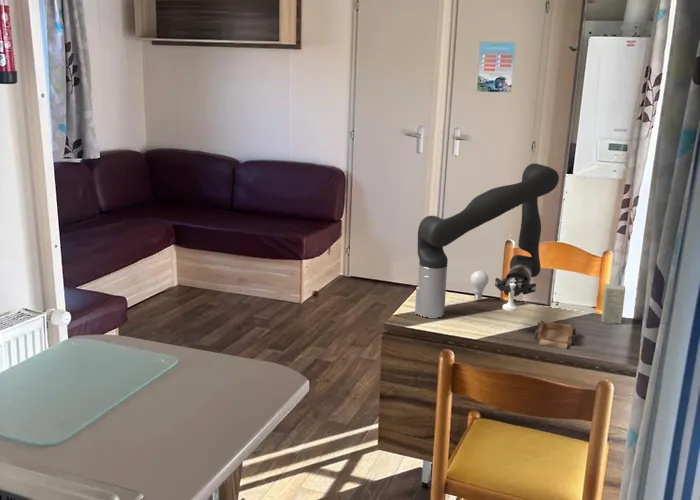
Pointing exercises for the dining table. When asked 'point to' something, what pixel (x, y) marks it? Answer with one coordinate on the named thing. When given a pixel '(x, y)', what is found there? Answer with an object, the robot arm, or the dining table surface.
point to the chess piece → (511, 298)
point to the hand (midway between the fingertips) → (511, 292)
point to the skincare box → (613, 303)
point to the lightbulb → (479, 283)
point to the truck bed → (555, 334)
